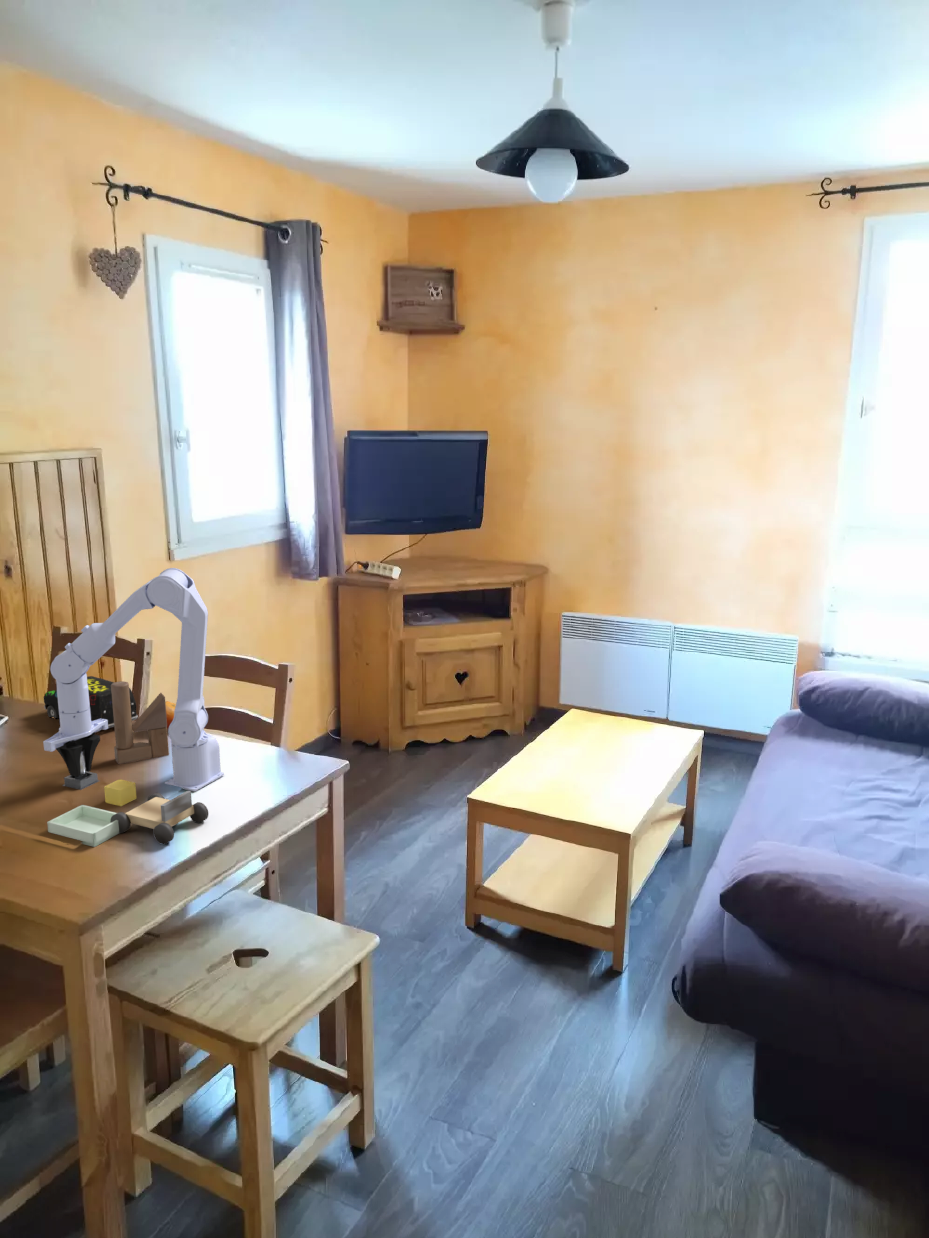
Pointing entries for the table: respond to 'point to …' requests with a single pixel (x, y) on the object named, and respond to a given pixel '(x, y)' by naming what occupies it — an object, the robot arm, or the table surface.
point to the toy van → (93, 701)
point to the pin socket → (81, 781)
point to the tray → (85, 825)
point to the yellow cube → (120, 792)
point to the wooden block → (138, 727)
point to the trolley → (162, 815)
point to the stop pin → (82, 766)
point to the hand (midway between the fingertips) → (80, 772)
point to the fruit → (169, 712)
